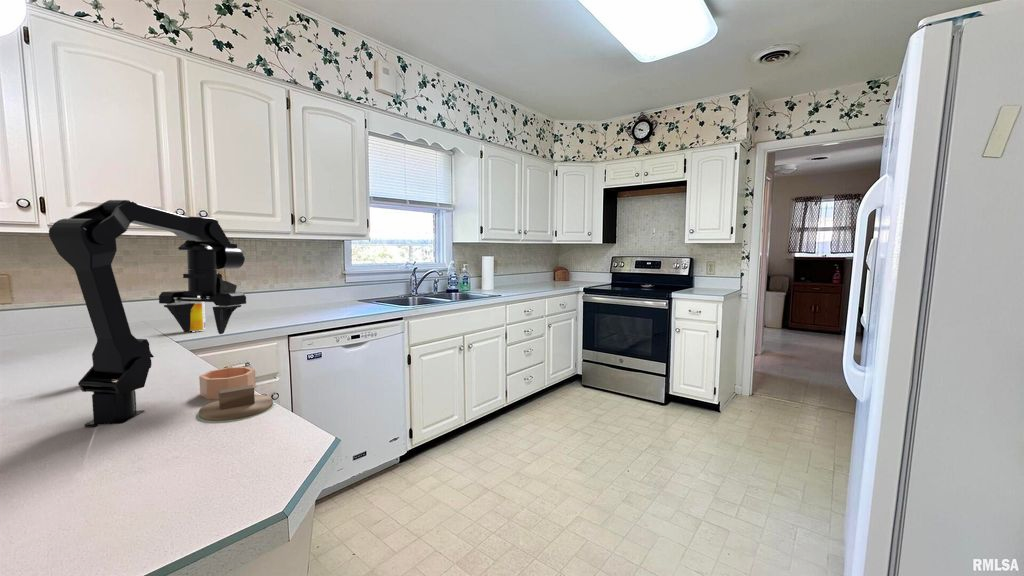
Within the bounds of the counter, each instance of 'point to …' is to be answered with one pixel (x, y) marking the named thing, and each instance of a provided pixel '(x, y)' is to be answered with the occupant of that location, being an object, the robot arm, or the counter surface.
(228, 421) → the sage mat
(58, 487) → the counter surface
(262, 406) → the walnut lid
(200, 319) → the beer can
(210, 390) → the terracotta bowl
